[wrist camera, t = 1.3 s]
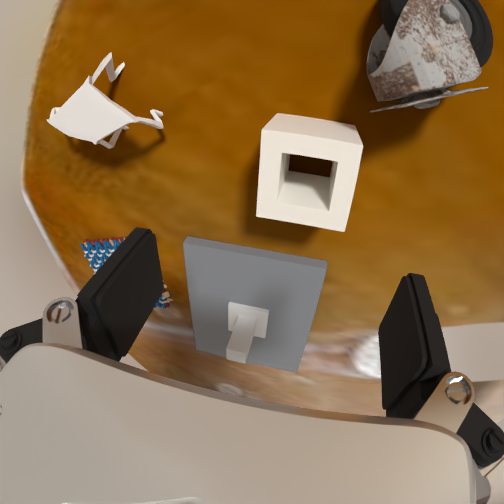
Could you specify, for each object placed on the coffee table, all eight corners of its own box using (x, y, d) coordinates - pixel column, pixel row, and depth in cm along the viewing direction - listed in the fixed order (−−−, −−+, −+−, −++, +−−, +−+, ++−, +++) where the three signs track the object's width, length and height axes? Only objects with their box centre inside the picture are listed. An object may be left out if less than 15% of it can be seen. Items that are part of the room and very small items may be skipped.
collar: (355, 125, 21) (363, 145, 16) (342, 194, 24) (344, 231, 20) (277, 113, 22) (261, 129, 17) (271, 182, 25) (256, 216, 21)
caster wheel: (436, -15, 13) (483, 92, 17) (315, 1, 16) (370, 119, 19) (473, -44, 7) (534, 89, 10) (327, -41, 10) (405, 117, 13)
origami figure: (155, 39, 20) (121, 40, 16) (175, 127, 24) (146, 143, 21) (62, 82, 23) (28, 92, 19) (81, 152, 28) (51, 170, 24)
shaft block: (327, 261, 29) (323, 310, 23) (298, 365, 39) (290, 406, 34) (187, 236, 31) (159, 276, 26) (199, 343, 41) (182, 380, 36)
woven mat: (117, 297, 41) (110, 307, 40) (85, 236, 35) (76, 244, 34) (177, 301, 38) (171, 312, 36) (146, 230, 32) (137, 240, 31)
